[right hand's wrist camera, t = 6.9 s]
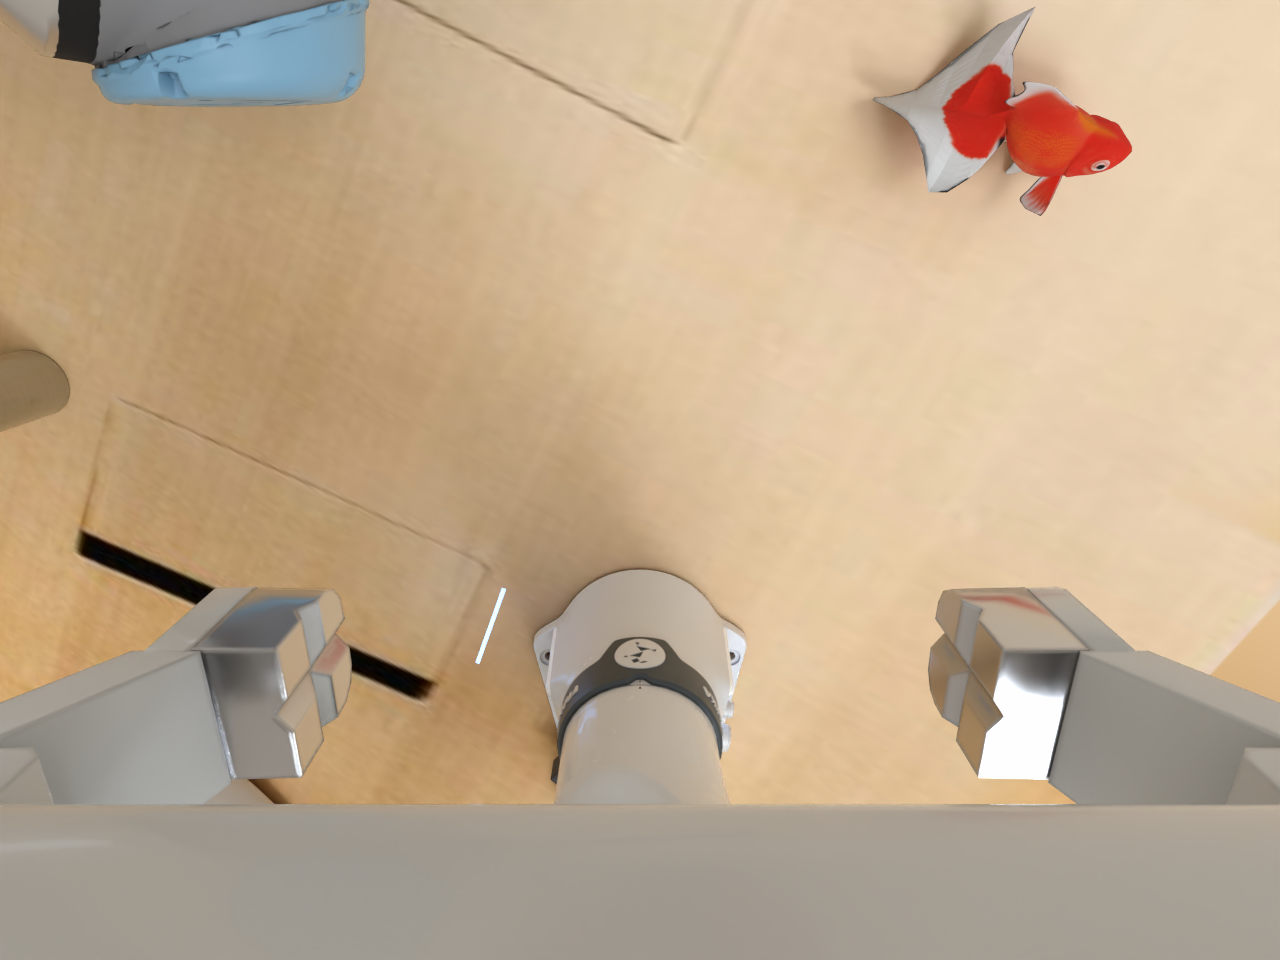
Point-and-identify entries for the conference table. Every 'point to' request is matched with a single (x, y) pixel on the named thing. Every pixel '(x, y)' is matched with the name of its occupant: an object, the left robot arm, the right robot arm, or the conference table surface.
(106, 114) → the conference table surface
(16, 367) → the jar
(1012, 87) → the fish
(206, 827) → the right robot arm
